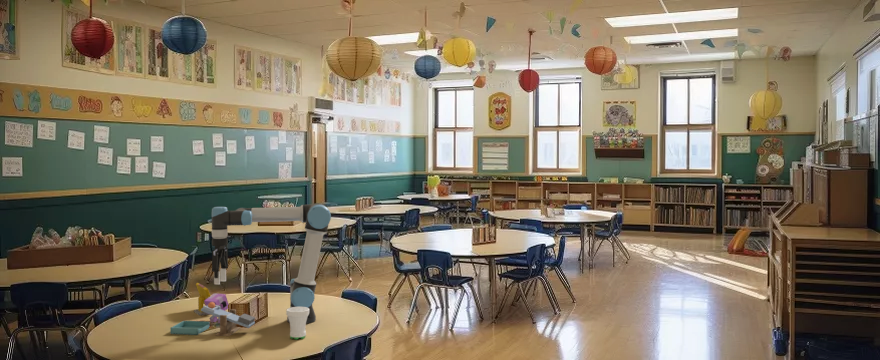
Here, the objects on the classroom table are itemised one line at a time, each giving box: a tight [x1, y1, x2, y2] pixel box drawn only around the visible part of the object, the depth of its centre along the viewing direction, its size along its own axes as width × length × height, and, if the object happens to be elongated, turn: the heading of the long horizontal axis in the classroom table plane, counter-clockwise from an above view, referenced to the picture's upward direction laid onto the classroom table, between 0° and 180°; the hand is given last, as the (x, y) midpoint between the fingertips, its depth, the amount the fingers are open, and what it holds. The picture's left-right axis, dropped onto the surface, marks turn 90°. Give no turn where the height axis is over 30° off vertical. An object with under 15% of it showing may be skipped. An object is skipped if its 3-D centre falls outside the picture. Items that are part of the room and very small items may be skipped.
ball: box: [208, 302, 215, 309], centre depth 346 cm, size 4×4×4 cm
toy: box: [204, 292, 230, 324], centre depth 365 cm, size 11×8×15 cm
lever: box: [201, 305, 256, 329], centre depth 346 cm, size 26×10×4 cm, turn 85°
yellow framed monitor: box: [193, 282, 212, 316], centre depth 385 cm, size 20×8×16 cm, turn 34°
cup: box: [285, 307, 309, 340], centre depth 336 cm, size 11×11×14 cm
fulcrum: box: [215, 308, 241, 337], centre depth 346 cm, size 7×14×10 cm, turn 175°
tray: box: [169, 320, 211, 336], centre depth 348 cm, size 14×14×3 cm
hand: (220, 282), depth 345 cm, fingers open, 7 cm apart
